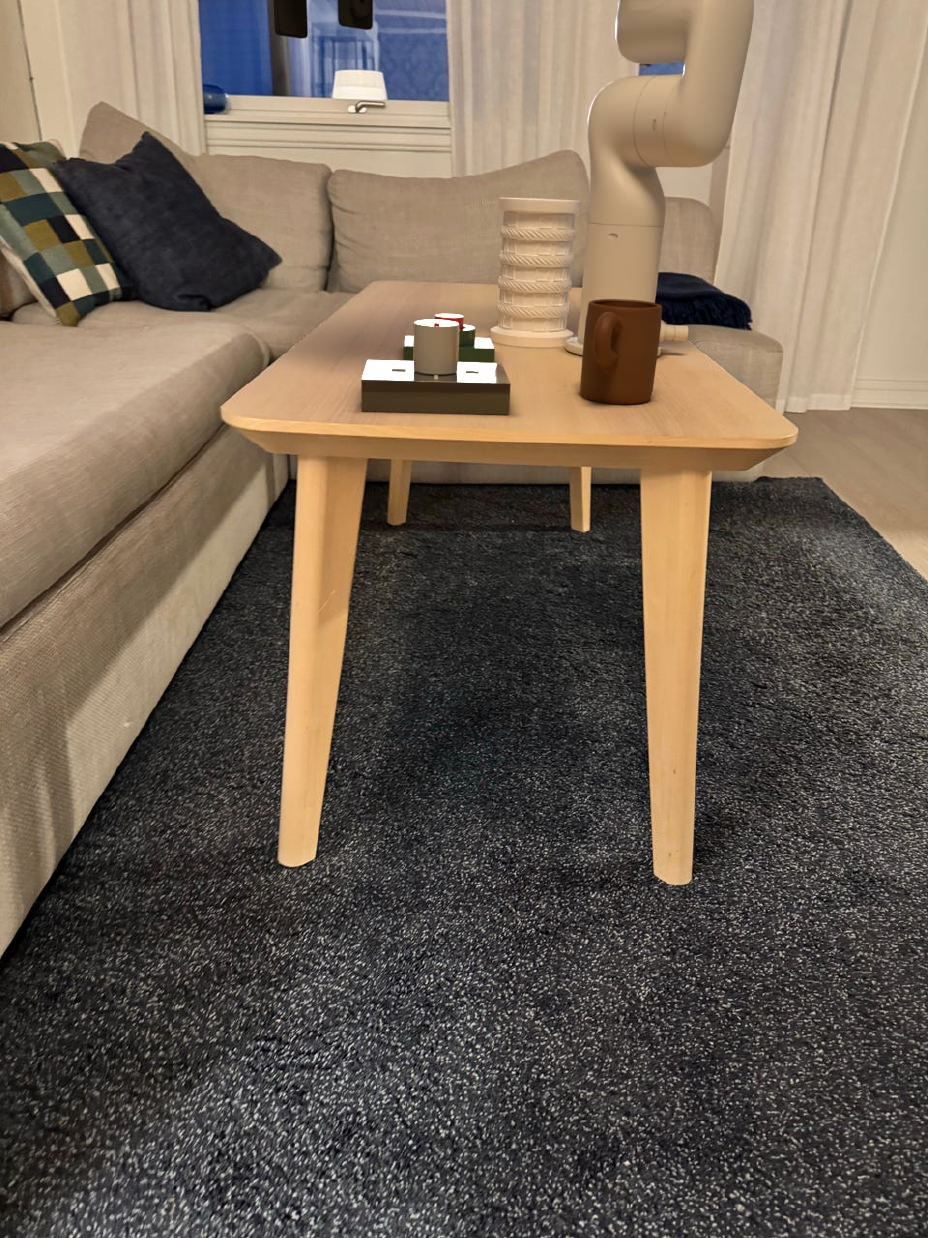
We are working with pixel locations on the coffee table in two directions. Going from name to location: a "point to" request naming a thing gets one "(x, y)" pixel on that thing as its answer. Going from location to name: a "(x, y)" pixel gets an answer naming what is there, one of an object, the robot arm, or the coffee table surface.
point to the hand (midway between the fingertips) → (322, 32)
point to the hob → (435, 389)
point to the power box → (463, 347)
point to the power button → (451, 318)
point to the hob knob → (436, 347)
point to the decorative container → (535, 271)
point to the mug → (620, 350)
